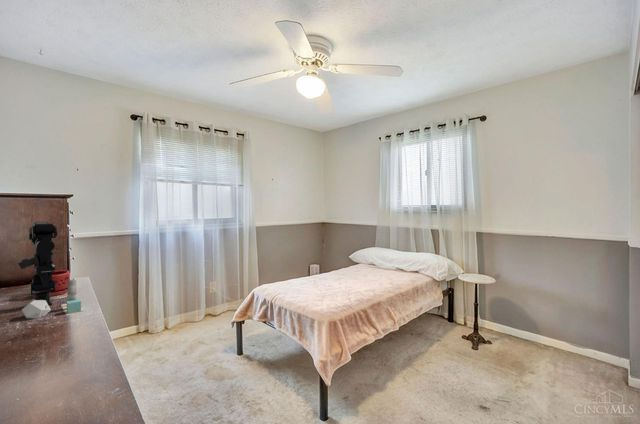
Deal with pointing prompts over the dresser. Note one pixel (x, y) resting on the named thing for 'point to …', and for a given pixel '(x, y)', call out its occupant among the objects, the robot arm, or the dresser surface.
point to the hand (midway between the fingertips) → (44, 284)
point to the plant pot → (60, 282)
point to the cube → (73, 306)
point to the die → (36, 309)
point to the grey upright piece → (70, 295)
